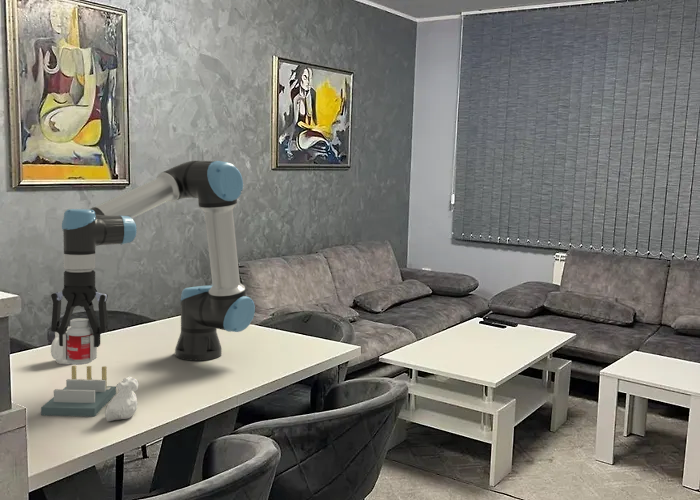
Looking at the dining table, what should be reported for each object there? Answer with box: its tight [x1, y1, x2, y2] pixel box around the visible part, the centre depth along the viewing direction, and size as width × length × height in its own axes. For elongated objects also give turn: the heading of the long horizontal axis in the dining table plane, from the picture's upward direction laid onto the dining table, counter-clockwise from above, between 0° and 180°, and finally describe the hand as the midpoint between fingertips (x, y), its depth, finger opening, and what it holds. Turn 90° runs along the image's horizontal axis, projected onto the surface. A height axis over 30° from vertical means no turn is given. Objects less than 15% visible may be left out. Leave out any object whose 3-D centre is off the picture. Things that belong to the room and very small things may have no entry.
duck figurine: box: [104, 376, 139, 422], centre depth 173 cm, size 12×8×11 cm
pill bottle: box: [67, 317, 93, 366], centre depth 180 cm, size 6×6×11 cm
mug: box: [50, 325, 71, 366], centre depth 218 cm, size 12×8×10 cm
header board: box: [40, 365, 117, 417], centre depth 181 cm, size 13×18×8 cm
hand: (79, 358), depth 180 cm, fingers closed on pill bottle, 6 cm apart
